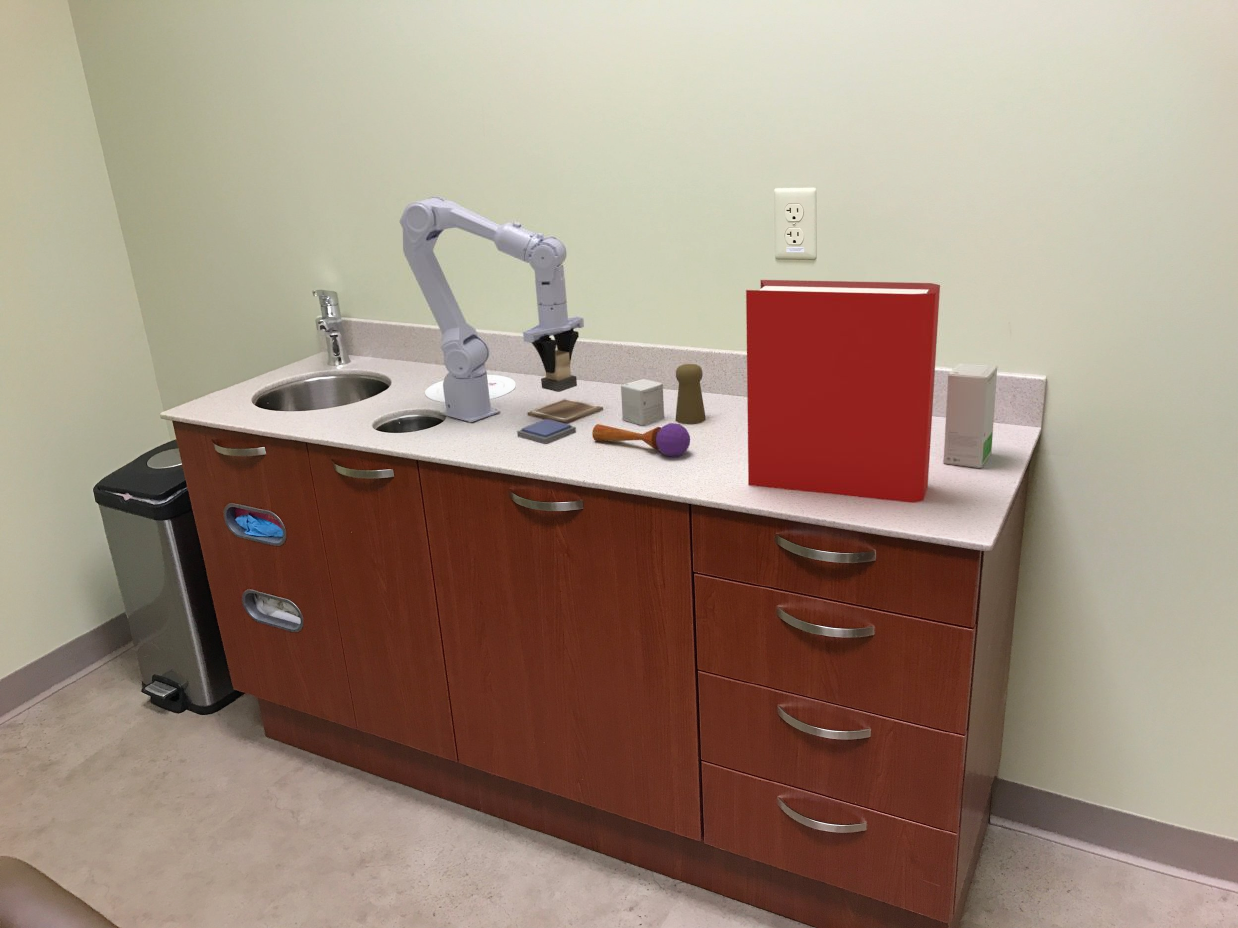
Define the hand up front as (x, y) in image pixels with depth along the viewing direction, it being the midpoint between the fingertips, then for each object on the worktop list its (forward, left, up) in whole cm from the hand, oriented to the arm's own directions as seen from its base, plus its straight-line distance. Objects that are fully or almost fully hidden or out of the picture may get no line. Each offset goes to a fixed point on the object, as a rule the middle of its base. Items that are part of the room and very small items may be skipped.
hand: (557, 369), depth 192 cm
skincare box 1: (+15, +8, -10) cm, 20 cm away
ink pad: (+5, -9, -10) cm, 14 cm away
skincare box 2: (+75, +22, -10) cm, 79 cm away
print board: (-1, +2, -10) cm, 10 cm away
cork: (+23, +13, -10) cm, 28 cm away
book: (+63, 0, -10) cm, 64 cm away
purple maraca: (+26, -5, -10) cm, 28 cm away
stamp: (0, 0, -3) cm, 4 cm away
